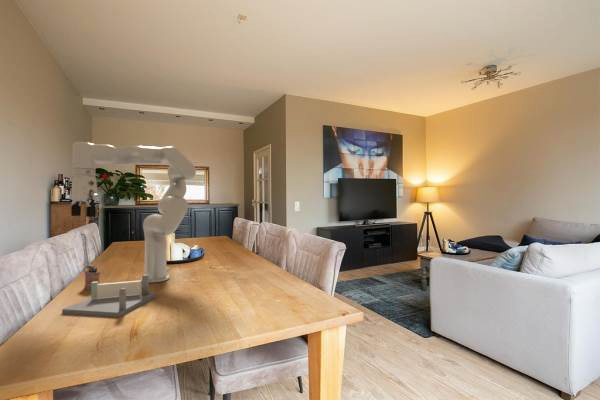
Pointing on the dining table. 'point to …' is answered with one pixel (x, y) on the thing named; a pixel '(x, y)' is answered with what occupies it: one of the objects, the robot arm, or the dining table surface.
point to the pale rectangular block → (114, 289)
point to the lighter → (91, 276)
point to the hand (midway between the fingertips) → (83, 216)
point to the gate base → (112, 303)
